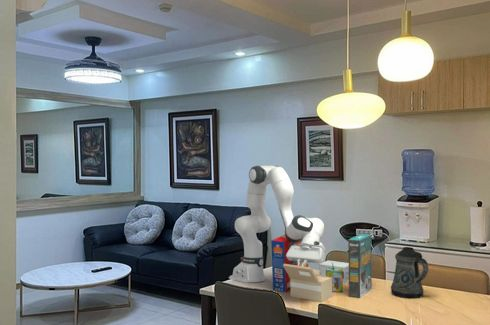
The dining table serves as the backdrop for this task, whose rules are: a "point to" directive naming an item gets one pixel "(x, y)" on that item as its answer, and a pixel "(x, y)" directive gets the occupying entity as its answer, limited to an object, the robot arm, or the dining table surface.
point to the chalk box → (335, 278)
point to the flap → (301, 273)
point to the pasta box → (281, 263)
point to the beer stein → (408, 274)
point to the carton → (312, 289)
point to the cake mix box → (359, 265)
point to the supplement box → (336, 265)
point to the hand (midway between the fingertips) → (300, 267)
